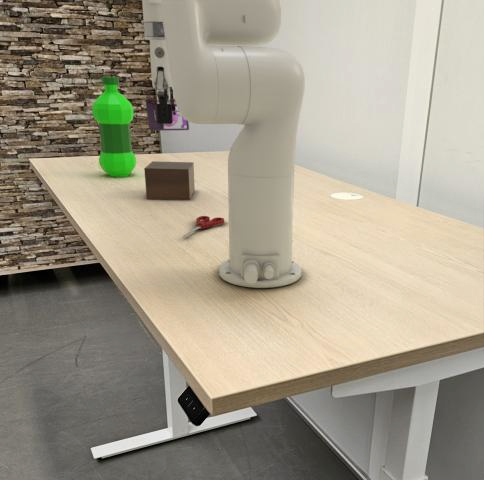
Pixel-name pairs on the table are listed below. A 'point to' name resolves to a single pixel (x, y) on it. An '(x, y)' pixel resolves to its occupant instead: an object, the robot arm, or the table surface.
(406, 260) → the table surface
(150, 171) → the walnut block
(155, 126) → the purple toy box
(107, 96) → the plastic bottle
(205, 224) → the scissors
